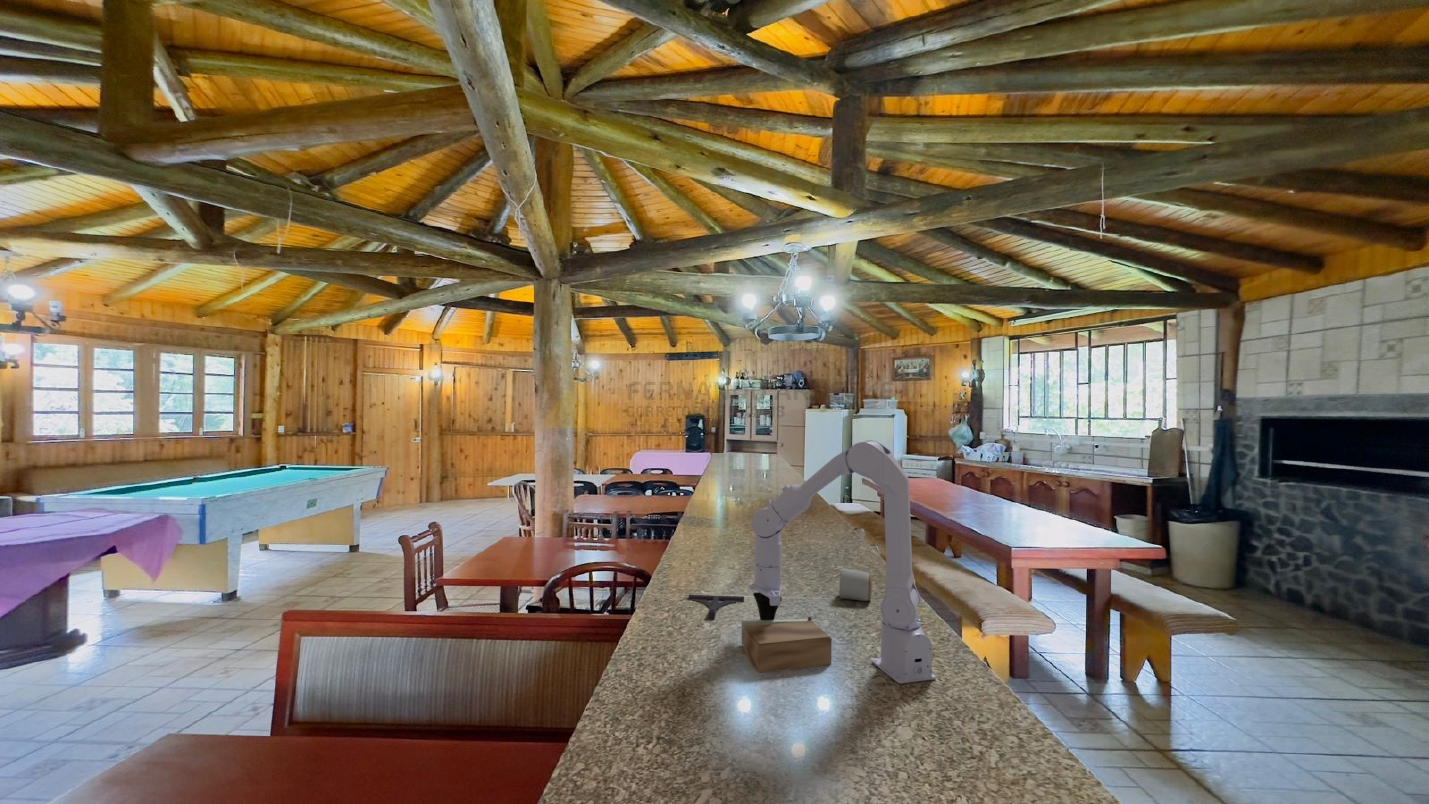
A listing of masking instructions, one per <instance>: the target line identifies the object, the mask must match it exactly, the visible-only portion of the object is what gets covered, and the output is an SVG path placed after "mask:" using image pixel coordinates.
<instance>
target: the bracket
mask: <svg viewBox="0 0 1429 804" xmlns="http://www.w3.org/2000/svg"><path fill="white" fill-rule="evenodd" d="M689 599H690V600H689ZM688 600H689V601H691V600H692V602H697V603H699V602H701V603H700V604H702V603H703V605H704V604H705V606H706V607H708V609H709V610H708V620H710V619H711V620H715V619H716V614H717V611H718V610H719V609H720V608H722V607H724V606H727V605H728V604H729V605H732V604H731V603H733V604H737V603H736V602H741V603H744V602H745V596H743V595H742V596H740V595H739V596H738V595H712V594H711V595H710V594H709V595H707V594H688ZM709 600H713V601H709Z"/></svg>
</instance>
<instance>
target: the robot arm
mask: <svg viewBox="0 0 1429 804" xmlns="http://www.w3.org/2000/svg"><path fill="white" fill-rule="evenodd" d="M854 473H855V474H858V475H859V476H862V477H865V478H866V479H869V480H870V481H872V482H873V483H874V484H875V485H877V487H879V488H881V490H882V491H883V503H884V504H883V505H884V506H883V508H884V509H883V510H884V532H885V533H884V535H885V536H884V537H885V538H884V540H885V541H884V542H885V557H886V558H885V564H886V565H885V566H886V567H885V568H886V569H885V571H886V572H885V574H886V575H885V583H884V584H885V585H884V586H885V587H884V589H885V590H884V596H883V598H882V600H881V603H880V613H881V618H880V657H877V658H872V659H871V663H873V664H874V665H875V666H876V667H878V668H879V669H880V670H882V672H884V673H885V674H886V675H888V677H890V678H891V679H892V680H893V681H895V682H896V683H898V684H907V683H917V682H922V681H923V682H924V681H930V680H931V681H932V680H935V679H937V676H936V675H935V674H933V645H932V642H931V641H932V640H930V638H929V637H928V636H927V635H926V634H925V632H924V631H923V629H922V622H921V619H920V617H919V615H918V614H917V611H918V607H919V606H920V603H921V596H920V595H921V594H920V592H919V590H918V588H917V587H916V583H915V575H914V571H913V554H912V553H913V552H912V549H913V548H912V525H911V523H912V521H911V497H910V495H911V494H910V491H911V490H910V479H909V476H908V475H907V473H906V472H905V471H904V470H903V467H901V465H900V463H899V462H898V461H897V459H896V458H895V456H894V454H893V453H892V450H890V449H889V448H887V447H886V446H885V445H883V444H882V443H881V442H880V441H877V440H872V439H870V440H865V441H860V442H855V443H854V444H853V445H852V446H851V447H850V448H849V449H845V450H844V451H842V452H840V453H839V454H837V455H836V456H834V457H833V458H831V459H830V460H829V461H828V462H827V463H825V464H824V465H823V466H822V467H820V469H819V470H817V471H816V472H814V474H813V475H812V476H810V477H809V478H808V479H807V480H805V481H804V482H803V484H795V483H793V484H791V485H789V484H787V485H785V486H783V487H782V488H781V490H782V492H781V493H780V494H778V495H777V496H776V497H775V498H773V500H772V499H769V500H768V501H766V503H765V505H766V507H763V508H759V509H757V510H756V511H755V513H753V516H751V523H750V524H751V528H752V531H753V532H754V536H755V537H754V570H753V571H754V576H753V577H754V578H753V581H754V582H753V583H748V589H749V590H753V591H756V592H754V593H753V594H752V595H753V596H754V600H755V601H756V602H755V603H756V605H757V609H758V614H759V619H760V620H775V617H776V613H777V610H778V608H779V607H780V606H781V604H782V600H783V597H782V596H781V594H782V590H783V584H782V551H783V550H782V549H783V548H782V547H783V544H782V543H783V542H782V540H783V539H782V532H783V531H782V530H783V529H784V528H785V527H786V525H787V524H789V523H791V522H792V521H793V520H794V519H796V518H797V517H798V516H800V515H801V514H802V513H803V512H805V511H806V510H808V509H809V508H810V507H811V504H812V503H811V502H812V497H813V496H814V495H816V494H818V493H819V492H820V491H821V490H822V489H824V488H825V487H827V486H828V485H829V484H831V483H832V482H834V481H835V480H836V479H837V478H840V476H849V475H852V474H854Z"/></svg>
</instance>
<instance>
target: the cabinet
mask: <svg viewBox="0 0 1429 804" xmlns="http://www.w3.org/2000/svg"><path fill="white" fill-rule="evenodd" d="M807 620H808V621H800V622H789V623H779V624H768V625H758V626H747V627H745V628H744V643H743V649H742V652H743V654H744V656H745V657H746V658H747V659H748V661H749V662H750V664H751V665H752V666H753V668H754V669H755V670H756V671H757V672H758V674H761V673H762V674H763V673H770V672H777V670H778V672H779V670H780V671H786V669H788V670H792V669H793V670H795V669H802V668H803V669H804V668H810V667H811V668H812V667H820V666H828V665H832V642H833V641H832V637H831V635H829V634H828V633H826V631H824V630H823V629H822V628H821V627H819V626H818V625H817V624H816V623H815V622H814V621H813V620H812V617H811V616H807Z"/></svg>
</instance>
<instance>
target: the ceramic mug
mask: <svg viewBox="0 0 1429 804" xmlns="http://www.w3.org/2000/svg"><path fill="white" fill-rule="evenodd" d="M839 577H840V578H839V579H840V580H839V593H838V594H839V598H840V599H844V600H845V599H846V600H852V601H853V600H855V601H860V602H861V601H862V602H869V601H871V599H872V593H873V575H872V573H869V572H865V571H861V570H855V569H850V568H846V567H842V568H841V571H840V576H839Z"/></svg>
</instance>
